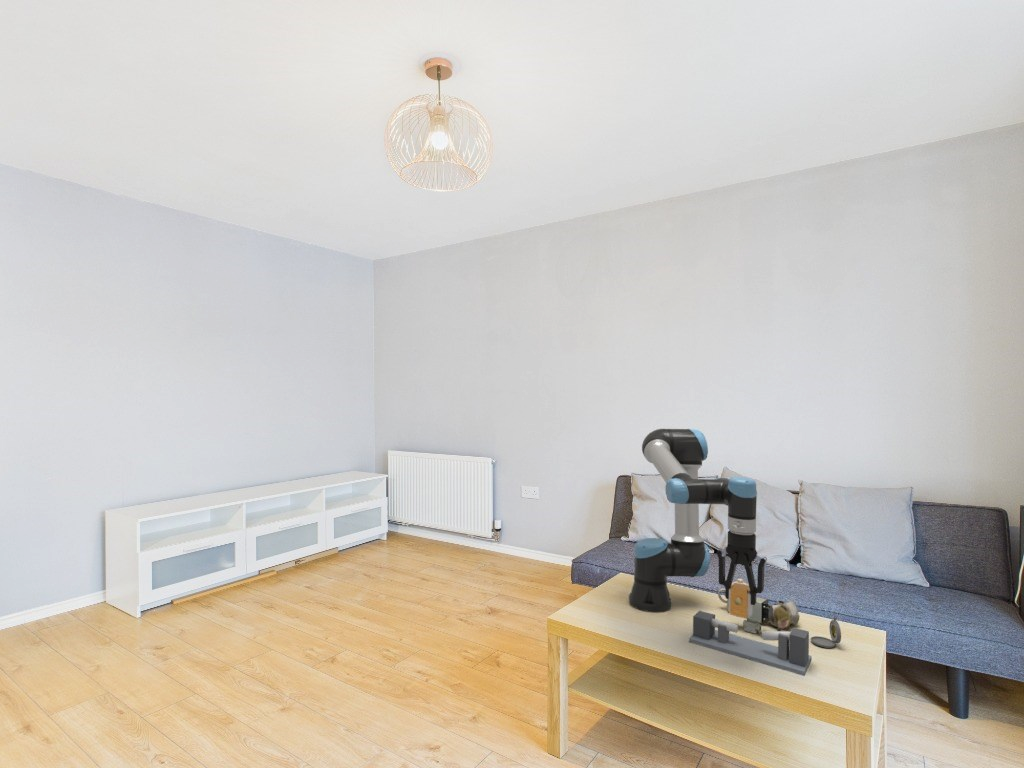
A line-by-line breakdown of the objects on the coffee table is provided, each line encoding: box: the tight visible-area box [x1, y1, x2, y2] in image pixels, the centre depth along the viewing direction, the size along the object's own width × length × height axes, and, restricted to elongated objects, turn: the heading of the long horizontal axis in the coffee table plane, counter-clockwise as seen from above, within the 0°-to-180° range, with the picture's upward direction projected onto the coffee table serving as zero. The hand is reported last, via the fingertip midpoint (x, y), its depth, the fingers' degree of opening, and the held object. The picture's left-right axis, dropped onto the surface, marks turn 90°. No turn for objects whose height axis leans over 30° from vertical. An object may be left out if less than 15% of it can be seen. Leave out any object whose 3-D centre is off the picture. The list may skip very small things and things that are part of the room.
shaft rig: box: [688, 610, 812, 676], centre depth 163 cm, size 32×12×9 cm, turn 53°
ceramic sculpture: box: [763, 600, 800, 631], centre depth 181 cm, size 11×9×15 cm
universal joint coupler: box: [729, 583, 750, 620], centre depth 155 cm, size 6×4×8 cm
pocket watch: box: [810, 612, 842, 649], centre depth 168 cm, size 8×8×10 cm
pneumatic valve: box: [742, 596, 773, 635], centre depth 177 cm, size 6×12×12 cm, turn 45°
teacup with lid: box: [717, 578, 749, 613], centre depth 193 cm, size 12×9×12 cm
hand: (740, 612), depth 155 cm, fingers closed on universal joint coupler, 4 cm apart
